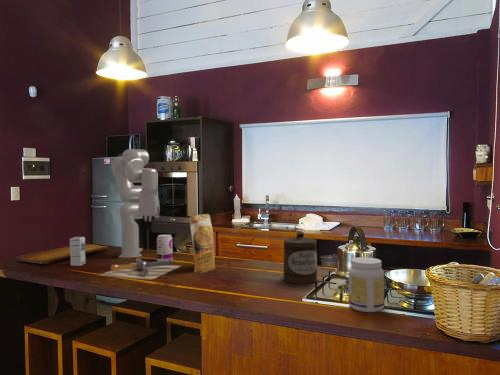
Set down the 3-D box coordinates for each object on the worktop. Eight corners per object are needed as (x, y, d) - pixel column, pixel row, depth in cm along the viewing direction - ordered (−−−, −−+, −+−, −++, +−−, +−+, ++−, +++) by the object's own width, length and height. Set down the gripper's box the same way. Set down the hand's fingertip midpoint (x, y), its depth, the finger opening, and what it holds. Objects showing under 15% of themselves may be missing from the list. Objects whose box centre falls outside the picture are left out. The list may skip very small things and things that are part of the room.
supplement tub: (376, 301, 147) (377, 256, 146) (389, 312, 135) (389, 263, 134) (344, 302, 147) (344, 256, 146) (354, 313, 134) (354, 264, 134)
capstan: (165, 261, 211) (165, 254, 211) (176, 273, 185) (176, 265, 185) (109, 266, 200) (109, 259, 200) (113, 279, 174) (113, 271, 174)
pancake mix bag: (185, 274, 189) (184, 215, 188) (209, 266, 205) (209, 212, 205) (196, 275, 186) (195, 216, 185) (220, 267, 202) (219, 213, 201)
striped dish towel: (133, 264, 210) (133, 261, 210) (181, 268, 201) (181, 265, 201) (98, 277, 183) (98, 274, 183) (151, 282, 175) (151, 279, 175)
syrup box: (81, 265, 208) (80, 238, 208) (70, 265, 208) (69, 238, 208) (85, 263, 214) (85, 236, 213) (75, 263, 214) (74, 236, 213)
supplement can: (174, 261, 217) (174, 234, 217) (169, 265, 209) (169, 236, 208) (160, 261, 218) (159, 234, 217) (155, 264, 210) (154, 236, 209)
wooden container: (290, 285, 169) (290, 234, 168) (279, 277, 183) (279, 229, 183) (322, 283, 173) (322, 232, 172) (308, 274, 187) (308, 228, 186)
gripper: (132, 193, 199) (132, 229, 200) (158, 194, 195) (158, 231, 196) (140, 192, 206) (140, 227, 207) (166, 193, 202) (166, 228, 203)
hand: (149, 228), depth 201 cm, fingers closed
